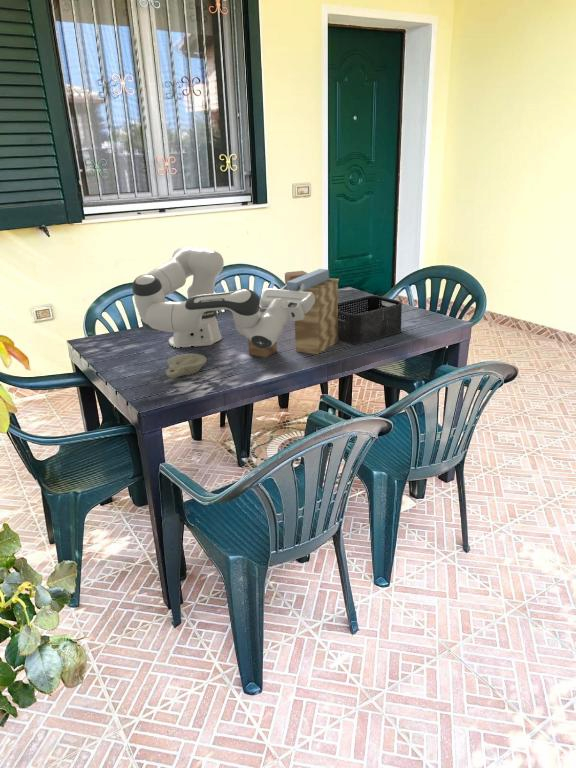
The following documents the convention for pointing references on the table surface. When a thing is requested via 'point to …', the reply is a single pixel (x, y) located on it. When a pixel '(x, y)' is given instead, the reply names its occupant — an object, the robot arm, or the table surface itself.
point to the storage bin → (368, 319)
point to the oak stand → (319, 320)
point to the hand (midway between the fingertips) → (296, 284)
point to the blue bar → (309, 279)
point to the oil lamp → (185, 364)
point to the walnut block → (261, 350)
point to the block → (293, 275)
